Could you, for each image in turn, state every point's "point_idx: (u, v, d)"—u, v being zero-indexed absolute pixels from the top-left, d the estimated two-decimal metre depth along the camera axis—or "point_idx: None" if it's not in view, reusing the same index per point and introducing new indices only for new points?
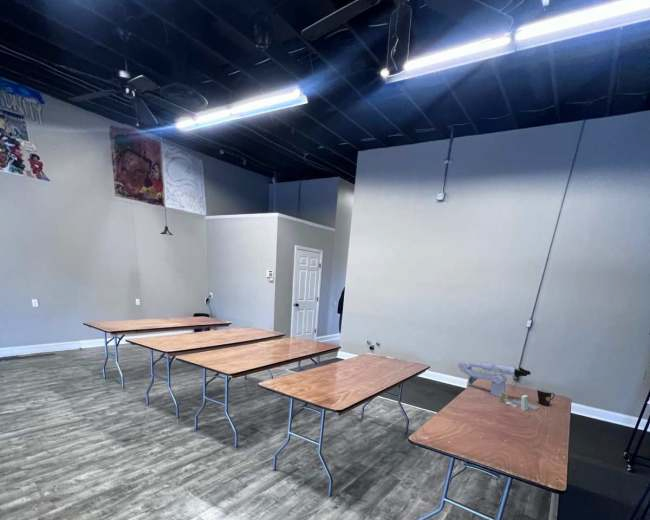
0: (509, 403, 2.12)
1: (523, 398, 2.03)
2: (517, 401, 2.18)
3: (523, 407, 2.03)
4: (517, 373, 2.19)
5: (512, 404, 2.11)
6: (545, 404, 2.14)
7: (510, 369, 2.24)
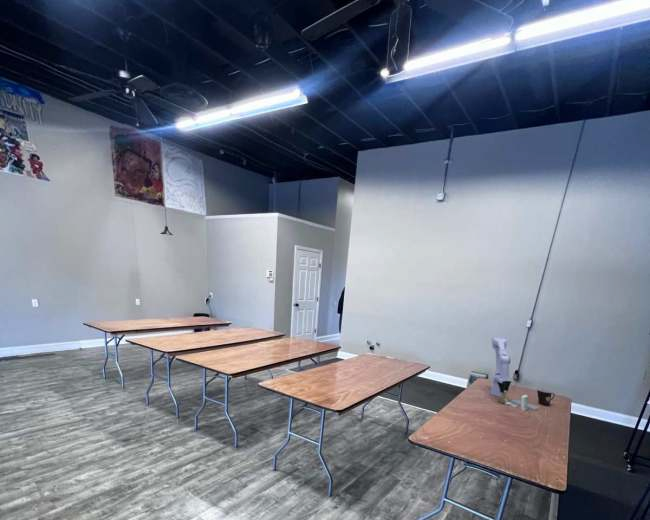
0: (509, 403, 2.12)
1: (523, 398, 2.03)
2: (517, 401, 2.18)
3: (523, 407, 2.03)
4: (501, 384, 2.14)
5: (512, 404, 2.11)
6: (545, 404, 2.14)
7: (505, 376, 2.14)
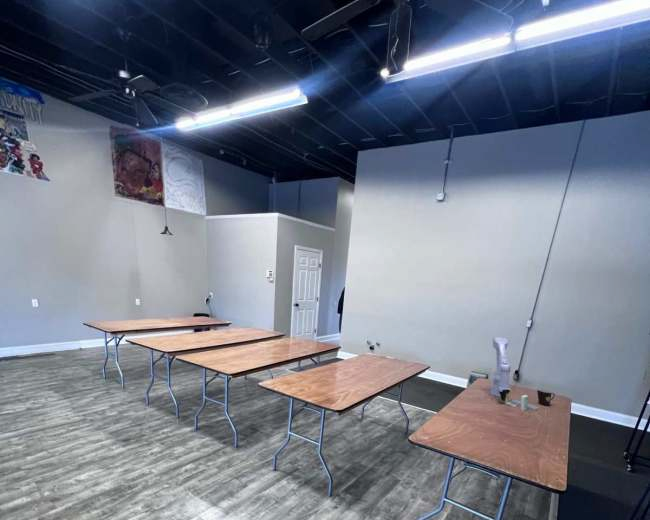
0: (509, 403, 2.12)
1: (523, 398, 2.03)
2: (517, 401, 2.18)
3: (523, 407, 2.03)
4: (502, 392, 2.15)
5: (512, 404, 2.11)
6: (545, 404, 2.14)
7: (505, 385, 2.14)
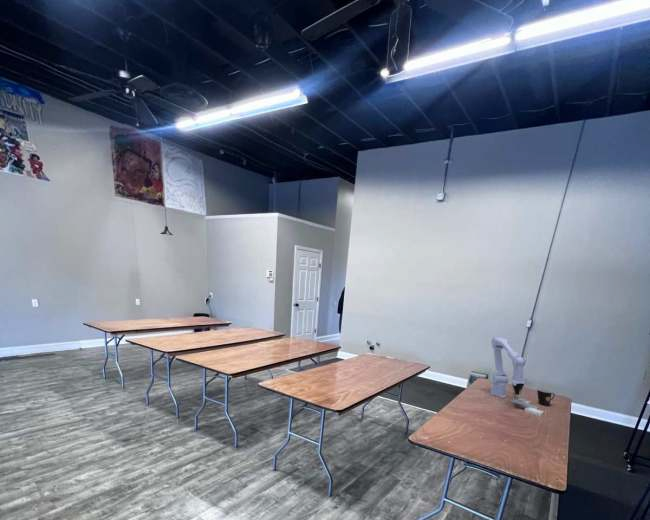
0: (521, 399, 2.07)
1: (538, 415, 1.96)
2: (517, 401, 2.18)
3: (528, 412, 2.00)
4: (516, 386, 2.08)
5: (525, 400, 2.05)
6: (545, 404, 2.14)
7: (519, 379, 2.07)
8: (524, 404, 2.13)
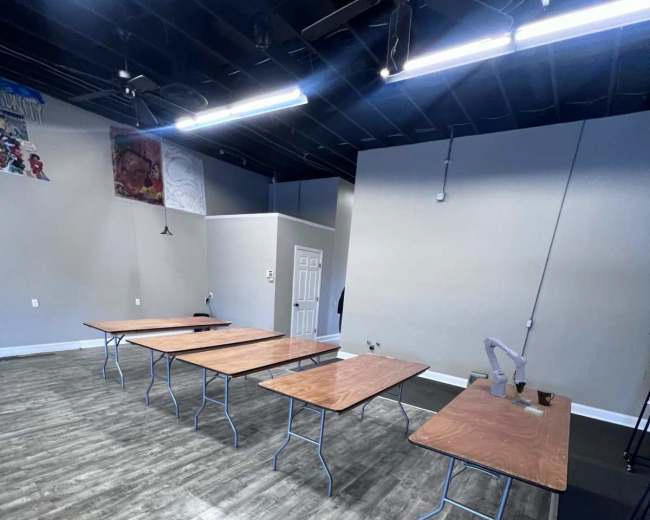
0: (523, 398, 2.14)
1: (538, 415, 1.96)
2: (517, 401, 2.18)
3: (528, 411, 2.00)
4: (518, 384, 2.16)
5: (526, 399, 2.13)
6: (545, 404, 2.14)
7: (521, 377, 2.15)
8: (524, 404, 2.13)
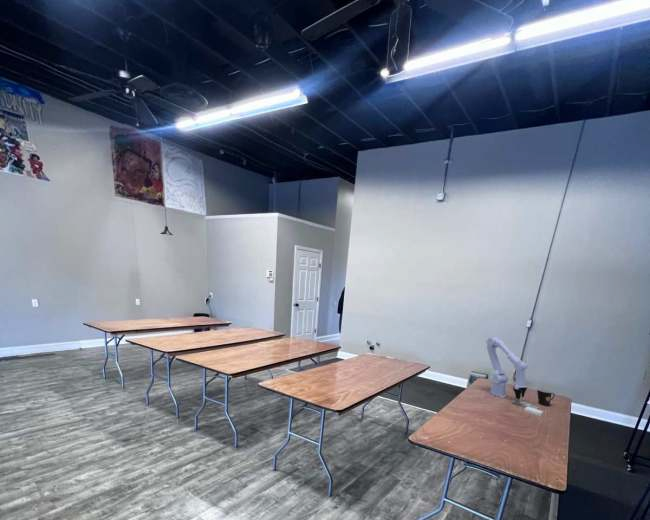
0: (523, 402, 2.14)
1: (538, 415, 1.96)
2: None
3: (528, 412, 2.00)
4: (517, 390, 2.14)
5: (526, 403, 2.12)
6: (545, 404, 2.14)
7: (521, 383, 2.14)
8: None
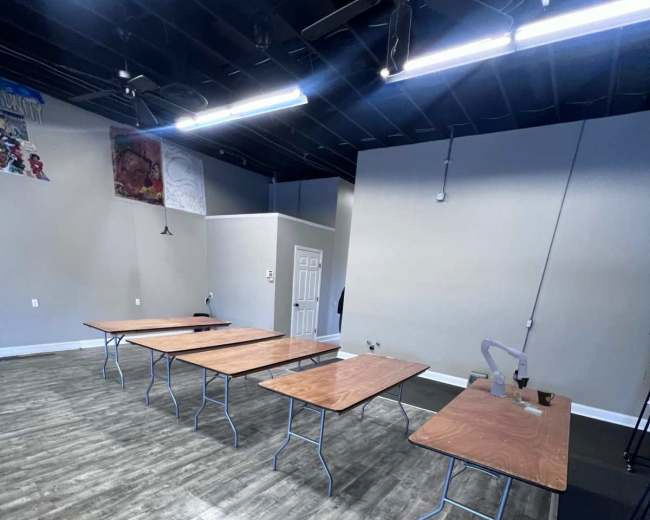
0: (523, 402, 2.14)
1: (538, 415, 1.96)
2: None
3: (528, 411, 2.00)
4: (520, 380, 2.20)
5: (526, 403, 2.12)
6: (545, 404, 2.14)
7: (523, 373, 2.21)
8: None
